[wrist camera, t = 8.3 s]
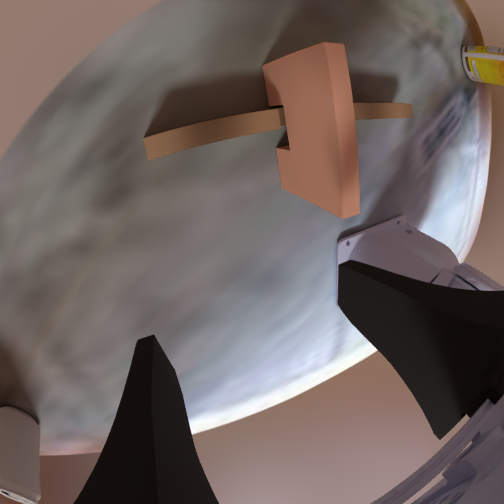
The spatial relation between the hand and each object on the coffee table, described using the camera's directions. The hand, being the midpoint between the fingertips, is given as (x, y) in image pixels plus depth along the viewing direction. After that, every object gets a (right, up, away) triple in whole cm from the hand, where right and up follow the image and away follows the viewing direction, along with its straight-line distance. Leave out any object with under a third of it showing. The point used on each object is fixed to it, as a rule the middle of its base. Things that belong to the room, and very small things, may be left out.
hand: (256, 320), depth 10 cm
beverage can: (-29, -18, +9) cm, 35 cm away
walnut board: (+3, +12, +8) cm, 14 cm away
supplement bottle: (+30, +29, +11) cm, 43 cm away
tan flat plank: (+2, +11, +8) cm, 14 cm away
